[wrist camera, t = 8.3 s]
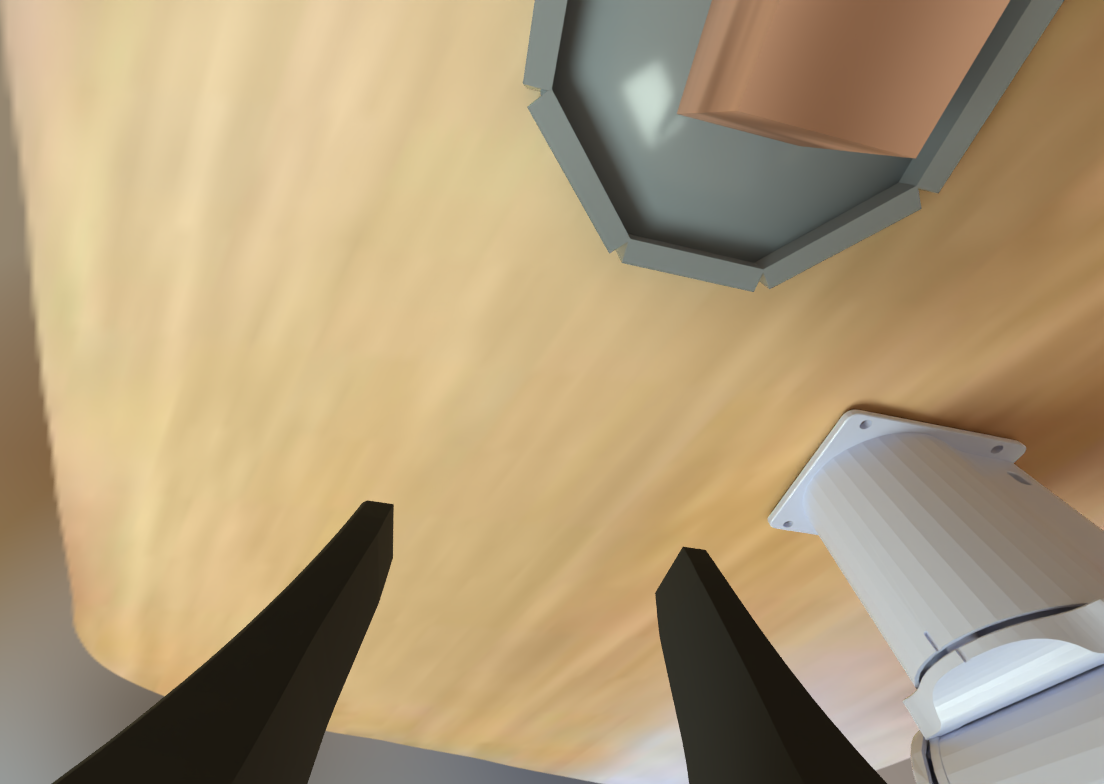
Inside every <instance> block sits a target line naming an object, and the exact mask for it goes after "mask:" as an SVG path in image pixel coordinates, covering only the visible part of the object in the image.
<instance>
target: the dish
mask: <svg viewBox="0 0 1104 784" xmlns="http://www.w3.org/2000/svg"><path fill="white" fill-rule="evenodd" d="M1063 1H1064V0H1010V2H1009V3H1008V5H1007V7H1006V8H1005V10H1004V12H1003V13H1002V15H1001V17H1000V18H999V20H998V22H997V23H996V25H995V27H994V28H993V30H992V32H991V33H990V35H989V37H988V38H987V40H986V42H985V43H984V45H983V47H982V48H981V50H980V52H979V54H978V55H977V57H976V59H975V60H974V62H973V64H972V65H971V67H970V69H969V70H968V72H967V74H966V75H965V77H964V79H963V80H962V82H961V84H960V85H959V87H958V89H957V90H956V92H955V94H954V95H953V97H952V99H951V100H950V102H949V104H948V105H947V107H946V109H945V110H944V112H943V114H942V115H941V117H940V119H939V120H938V122H937V124H936V126H935V127H934V129H933V131H932V132H931V134H930V136H929V137H928V139H927V141H926V142H925V144H924V146H923V147H922V149H921V151H920V152H919V154H918V156H917V157H916V159H915V158H906V157H896V156H887V155H878V154H868V153H859V152H850V151H840V150H831V149H822V148H812V147H803V146H797V145H793V144H789V143H785V142H782V141H778V140H774V139H770V138H766V137H763V136H759V135H755V134H751V133H747V132H744V131H740V130H736V129H732V128H728V127H724V126H721V125H717V124H713V123H709V122H705V121H702V120H698V119H694V118H690V117H686V116H683V115H679V114H677V111H678V108H679V105H680V102H681V98H682V95H683V92H684V89H685V85H686V82H687V79H688V76H689V73H690V69H691V66H692V63H693V60H694V57H695V53H696V50H697V47H698V44H699V40H700V37H701V34H702V31H703V28H704V24H705V21H706V18H707V15H708V12H709V8H710V5H711V2H712V0H535V3H534V10H533V17H532V24H531V31H530V38H529V45H528V52H527V59H526V66H525V73H524V80H523V84H524V86H525V87H526V88H529V89H532V90H536V91H540V92H541V97H539V98H538V99H537V100H536V101H534V102H533V103H532V104H530V105H529V106H528V107H527V108H528V109H529V111H530V113H531V115H532V116H533V118H534V120H535V122H536V124H537V125H538V127H539V129H540V131H541V133H542V134H543V136H544V138H545V140H546V141H547V143H548V145H549V147H550V149H551V150H552V152H553V154H554V156H555V157H556V159H557V161H558V163H559V165H560V166H561V168H562V170H563V172H564V173H565V175H566V177H567V179H568V181H569V182H570V184H571V186H572V188H573V190H574V191H575V193H576V195H577V197H578V198H579V200H580V202H581V204H582V206H583V207H584V209H585V211H586V213H587V214H588V216H589V218H590V220H591V222H592V223H593V225H594V227H595V229H596V230H597V232H598V234H599V236H600V238H601V239H602V241H603V243H604V245H605V247H606V248H607V250H608V252H609V253H611V252H612V251H614V250H616V252H617V254H618V256H619V258H620V260H621V262H622V263H625V264H630V265H634V266H639V267H643V268H648V269H652V270H657V271H661V272H666V273H670V274H675V275H679V276H684V277H688V278H693V279H697V280H702V281H706V282H711V283H715V284H720V285H724V286H729V287H733V288H738V289H742V290H747V291H751V292H754V290H755V288H756V286H757V284H758V282H759V281H760V282H761V283H762V284H764V285H765V286H766V287H767V288H769V289H771V288H773V287H775V286H777V285H778V284H780V283H782V282H784V281H786V280H788V279H790V278H792V277H794V276H795V275H797V274H799V273H801V272H803V271H805V270H807V269H809V268H811V267H812V266H814V265H816V264H818V263H820V262H822V261H824V260H826V259H828V258H829V257H831V256H833V255H835V254H837V253H839V252H841V251H843V250H845V249H846V248H848V247H850V246H852V245H854V244H856V243H858V242H860V241H862V240H863V239H865V238H867V237H869V236H871V235H873V234H875V233H877V232H879V231H880V230H882V229H884V228H886V227H888V226H890V225H892V224H894V223H896V222H897V221H899V220H901V219H903V218H905V217H907V216H909V215H911V214H913V213H914V212H916V211H918V210H920V209H921V203H920V197H919V190H923V191H928V192H934V193H939V192H940V190H941V189H942V187H943V185H944V184H945V182H946V181H947V179H948V178H949V176H950V175H951V173H952V172H953V170H954V169H955V167H956V166H957V164H958V162H959V161H960V159H961V158H962V156H963V155H964V153H965V152H966V150H967V149H968V147H969V146H970V144H971V143H972V141H973V139H974V138H975V136H976V135H977V133H978V132H979V130H980V129H981V127H982V126H983V124H984V123H985V121H986V119H987V118H988V116H989V115H990V113H991V112H992V110H993V109H994V107H995V106H996V104H997V103H998V101H999V100H1000V98H1001V96H1002V95H1003V93H1004V92H1005V90H1006V89H1007V87H1008V86H1009V84H1010V83H1011V81H1012V80H1013V78H1014V77H1015V75H1016V73H1017V72H1018V70H1019V69H1020V67H1021V66H1022V64H1023V63H1024V61H1025V60H1026V58H1027V57H1028V55H1029V54H1030V52H1031V50H1032V49H1033V47H1034V46H1035V44H1036V43H1037V41H1038V40H1039V38H1040V37H1041V35H1042V34H1043V32H1044V30H1045V29H1046V27H1047V26H1048V24H1049V23H1050V21H1051V20H1052V18H1053V17H1054V15H1055V14H1056V12H1057V11H1058V9H1059V7H1060V6H1061V4H1062V3H1063Z"/></svg>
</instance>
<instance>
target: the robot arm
mask: <svg viewBox="0 0 1104 784" xmlns="http://www.w3.org/2000/svg"><path fill="white" fill-rule="evenodd" d="M865 420H866V421H865ZM863 421H864V422H863ZM862 422H863V423H862ZM1025 451H1026V446H1025V445H1023V444H1022V443H1021V442H1019V441H1017V440H1012V439H1007V438H1002V437H996V436H991V435H986V434H981V433H976V432H971V431H966V430H960V429H955V428H950V427H945V426H940V425H935V424H929V423H924V422H919V421H914V420H909V419H904V418H899V417H893V416H888V415H883V414H878V413H873V412H868V411H863V410H850V411H848V412H846V413H845V414H844V415H843V416H842V417H841V418H840V419H839V421H838V422H837V424H836V425H835V426H834V428H833V429H832V430H831V432H830V433H829V435H828V436H827V437H826V439H825V440H824V441H823V443H822V444H821V446H820V447H819V448H818V450H817V451H816V452H815V454H814V455H813V456H812V458H811V459H810V461H809V462H808V463H807V465H806V466H805V467H804V469H803V470H802V472H801V473H800V474H799V476H798V477H797V478H796V480H795V481H794V483H793V484H792V485H791V487H790V488H789V489H788V491H787V492H786V493H785V495H784V496H783V498H782V499H781V500H780V502H779V503H778V504H777V506H776V507H775V509H774V510H773V511H772V513H771V514H770V515H769V517H768V522H769V524H770V526H771V527H773V528H777V529H783V530H790V531H796V532H803V533H809V534H816V535H819V536H820V538H821V540H822V541H823V543H824V544H825V546H826V547H827V549H828V551H829V552H830V554H831V555H832V557H833V558H834V560H835V562H836V563H837V565H838V566H839V568H840V569H841V571H842V573H843V574H844V576H845V577H846V579H847V580H848V582H849V584H850V585H851V587H852V588H853V590H854V591H855V593H856V595H857V596H858V598H859V599H860V601H861V602H862V604H863V606H864V607H865V609H866V610H867V612H868V613H869V615H870V617H871V618H872V620H873V621H874V623H875V624H876V626H877V628H878V629H879V631H880V632H881V634H882V635H883V637H884V639H885V640H886V642H887V643H888V645H889V646H890V648H891V650H892V651H893V653H894V654H895V656H896V657H897V659H898V661H899V662H900V664H901V665H902V667H903V668H904V670H905V672H906V673H907V675H908V676H909V678H910V679H911V681H912V682H913V684H914V686H915V687H916V689H917V690H916V691H915V692H914V693H913V694H912V695H910V696H909V697H907V698H905V699H904V700H903V703H904V704H905V706H906V708H907V709H908V711H909V713H910V714H911V716H912V718H913V719H914V721H915V723H916V724H917V726H918V728H919V729H920V730H919V731H918V732H917V733H916V734H915V736H914V737H913V740H912V743H911V763H912V770H913V774H914V778H915V781H916V784H1104V531H1103V530H1102V529H1100V528H1099V527H1098V526H1096V525H1095V524H1094V523H1092V522H1091V521H1090V520H1088V519H1087V518H1086V517H1084V516H1083V515H1082V514H1080V513H1079V512H1078V511H1076V510H1075V509H1074V508H1072V507H1071V506H1070V505H1068V504H1067V503H1066V502H1064V501H1063V500H1062V499H1060V498H1059V497H1058V496H1056V495H1055V494H1054V493H1052V492H1051V491H1050V490H1048V489H1047V488H1046V487H1044V486H1043V485H1042V484H1040V483H1039V482H1038V481H1036V480H1035V479H1034V478H1032V477H1031V476H1030V475H1028V474H1027V473H1026V472H1024V471H1023V470H1022V469H1020V468H1019V467H1018V466H1016V465H1015V464H1014V462H1015V461H1016V460H1018V459H1019V458H1020V457H1021V456H1022V455H1023V454H1024V453H1025ZM393 507H394V504H387V503H381V502H374V501H365V502H363V503H362V504H361V505H360V507H359V508H358V509H357V510H356V512H355V513H354V514H353V515H352V516H351V518H350V519H349V520H348V521H347V522H346V524H345V525H344V526H343V527H342V528H341V529H340V531H339V532H338V533H337V534H336V535H335V536H334V537H333V539H332V540H331V541H330V542H329V543H328V544H327V545H326V546H325V547H324V549H323V550H322V551H321V552H320V553H319V554H318V555H317V556H316V557H315V558H314V559H313V560H312V561H311V562H310V563H309V564H308V566H307V567H306V568H305V569H304V570H303V571H302V572H301V573H300V574H299V575H298V576H297V577H296V578H295V579H294V580H293V581H292V582H291V583H290V584H289V585H288V586H287V587H286V588H285V589H284V590H283V591H282V592H281V593H280V594H279V595H278V596H277V597H276V598H275V599H274V600H273V601H272V602H271V603H270V604H269V605H268V606H267V607H266V608H265V609H264V610H263V611H262V612H260V613H259V614H258V615H257V616H256V617H255V618H254V619H253V620H252V621H251V622H250V623H249V624H248V625H247V626H246V627H245V628H244V629H243V630H241V631H240V632H239V633H238V634H237V635H236V636H235V637H234V638H233V639H232V640H230V641H229V642H228V643H227V644H226V645H225V646H224V647H223V648H222V649H220V650H219V651H218V652H217V653H216V654H215V655H214V656H212V657H211V658H210V659H209V660H208V661H207V662H205V663H204V664H203V665H202V666H201V667H200V668H198V669H197V670H196V671H195V672H194V673H193V674H192V675H190V676H189V677H188V678H187V679H186V680H184V681H183V682H182V683H181V684H179V685H178V686H177V687H176V688H175V689H173V690H172V691H171V692H170V693H168V694H167V695H166V696H165V697H164V698H162V699H161V700H160V701H159V702H157V703H156V704H155V705H154V706H153V707H151V708H150V709H149V710H148V711H146V712H145V713H144V714H143V715H141V716H140V717H139V718H138V719H137V720H135V721H134V722H133V723H132V724H130V725H129V726H128V727H126V728H125V729H124V730H123V731H121V732H120V733H119V734H117V735H116V736H115V737H114V738H112V739H111V740H110V741H109V742H107V743H106V744H105V745H103V746H102V747H100V748H99V749H98V750H96V751H95V752H94V753H92V754H91V755H90V756H88V757H87V758H86V759H84V760H83V761H82V762H80V763H79V764H78V765H76V766H75V767H74V768H72V769H71V770H69V771H68V772H67V773H65V774H64V775H63V776H61V777H60V778H59V779H58V780H56V781H55V782H53V783H52V784H307V783H308V780H309V777H310V774H311V771H312V768H313V765H314V762H315V759H316V756H317V753H318V750H319V748H320V744H321V742H322V739H323V735H324V733H325V730H326V728H327V725H328V722H329V720H330V717H331V715H332V712H333V710H334V707H335V705H336V702H337V700H338V698H339V695H340V693H341V691H342V688H343V686H344V684H345V681H346V679H347V676H348V674H349V672H350V669H351V667H352V665H353V662H354V660H355V658H356V655H357V653H358V651H359V648H360V646H361V644H362V641H363V639H364V637H365V634H366V632H367V629H368V627H369V625H370V622H371V620H372V618H373V615H374V613H375V610H376V608H377V606H378V603H379V600H380V597H381V594H382V591H383V588H384V585H385V582H386V578H387V575H388V572H389V569H390V565H391V562H392V559H393ZM655 594H656V606H657V617H658V626H659V634H660V640H661V645H662V650H663V654H664V659H665V664H666V669H667V673H668V678H669V682H670V687H671V691H672V696H673V700H674V705H675V710H676V714H677V719H678V723H679V728H680V732H681V737H682V742H683V747H684V753H685V758H686V764H687V771H688V778H689V784H887V783H886V782H885V781H884V780H883V779H882V778H881V777H880V775H879V774H878V773H877V772H876V771H875V770H874V769H873V768H872V767H871V766H870V765H869V763H868V762H867V761H866V760H865V759H864V758H863V757H862V756H861V755H860V753H859V752H858V751H857V750H856V749H855V748H854V747H853V745H852V744H851V743H850V742H849V741H848V740H847V738H846V737H845V736H844V735H843V734H842V733H841V731H840V730H839V729H838V728H837V727H836V726H835V725H834V723H833V722H832V721H831V720H830V719H829V718H828V716H827V715H826V714H825V713H824V712H823V710H822V709H821V708H820V707H819V705H818V704H817V703H816V702H815V701H814V699H813V698H812V697H811V696H810V694H809V693H808V692H807V691H806V689H805V688H804V687H803V685H802V684H801V683H800V682H799V680H798V679H797V678H796V676H795V675H794V674H793V673H792V671H791V670H790V669H789V667H788V666H787V665H786V664H785V662H784V661H783V660H782V658H781V657H780V655H779V654H778V653H777V651H776V650H775V649H774V647H773V646H772V645H771V643H770V642H769V641H768V639H767V638H766V636H765V635H764V634H763V632H762V631H761V629H760V628H759V627H758V625H757V624H756V622H755V621H754V620H753V618H752V617H751V615H750V614H749V612H748V611H747V610H746V608H745V607H744V605H743V604H742V602H741V601H740V599H739V598H738V597H737V595H736V594H735V592H734V591H733V589H732V588H731V586H730V585H729V583H728V582H727V580H726V579H725V577H724V576H723V575H722V573H721V572H720V570H719V569H718V567H717V566H716V564H715V563H714V561H713V560H712V558H711V557H710V556H709V554H708V553H707V551H706V550H702V549H695V548H688V547H683V548H682V549H681V551H680V553H679V554H678V556H677V558H676V559H675V561H674V563H673V564H672V566H671V568H670V569H669V571H668V573H667V574H666V576H665V578H664V579H663V581H662V583H661V584H660V586H659V588H658V589H657V591H656V593H655Z"/></svg>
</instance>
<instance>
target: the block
mask: <svg viewBox="0 0 1104 784" xmlns="http://www.w3.org/2000/svg"><path fill="white" fill-rule="evenodd" d="M1009 2H1010V0H712V2H711V5H710V8H709V12H708V15H707V18H706V21H705V24H704V28H703V31H702V34H701V37H700V40H699V44H698V47H697V50H696V53H695V57H694V60H693V63H692V66H691V69H690V73H689V76H688V79H687V82H686V85H685V89H684V92H683V95H682V98H681V102H680V105H679V108H678V111H677V114H679V115H683V116H686V117H690V118H694V119H698V120H702V121H705V122H709V123H713V124H717V125H721V126H724V127H728V128H732V129H736V130H740V131H744V132H747V133H751V134H755V135H759V136H763V137H766V138H770V139H774V140H778V141H782V142H785V143H789V144H793V145H797V146H803V147H812V148H822V149H831V150H840V151H850V152H859V153H868V154H878V155H887V156H896V157H906V158H915V159H916V157H917V156H918V154H919V152H920V151H921V149H922V147H923V146H924V144H925V142H926V141H927V139H928V137H929V136H930V134H931V132H932V131H933V129H934V127H935V126H936V124H937V122H938V120H939V119H940V117H941V115H942V114H943V112H944V110H945V109H946V107H947V105H948V104H949V102H950V100H951V99H952V97H953V95H954V94H955V92H956V90H957V89H958V87H959V85H960V84H961V82H962V80H963V79H964V77H965V75H966V74H967V72H968V70H969V69H970V67H971V65H972V64H973V62H974V60H975V59H976V57H977V55H978V54H979V52H980V50H981V48H982V47H983V45H984V43H985V42H986V40H987V38H988V37H989V35H990V33H991V32H992V30H993V28H994V27H995V25H996V23H997V22H998V20H999V18H1000V17H1001V15H1002V13H1003V12H1004V10H1005V8H1006V7H1007V5H1008V3H1009Z"/></svg>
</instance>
